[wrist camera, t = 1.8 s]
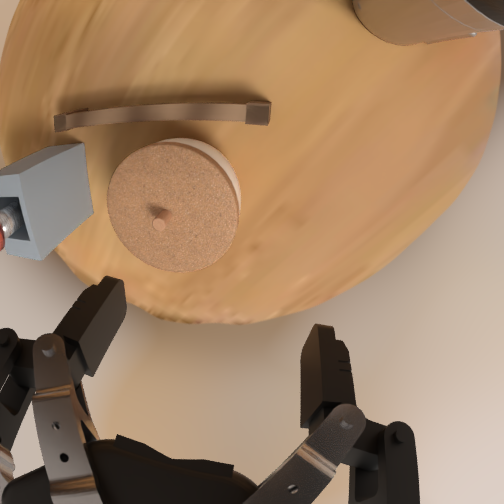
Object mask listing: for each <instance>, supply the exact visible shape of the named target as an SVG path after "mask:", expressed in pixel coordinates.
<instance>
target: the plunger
mask: <svg viewBox="0 0 504 504" xmlns="http://www.w3.org/2000/svg"><path fill="white" fill-rule="evenodd" d="M24 224H25V221H24V217H23V213H22V209H21V205H20V201H17V200H15V201H13V202H12V203H11V204H9V205H8V206H6V207H5V208H3V209H2V210H0V251H1V250H2V249H3V248H4V247H5V240H6V239H7V238H8V237H9V236H10V235H12V234H13V233H14V232H15V231H17V230H18V229H19V228H20V227H22V226H23V225H24Z"/></svg>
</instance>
